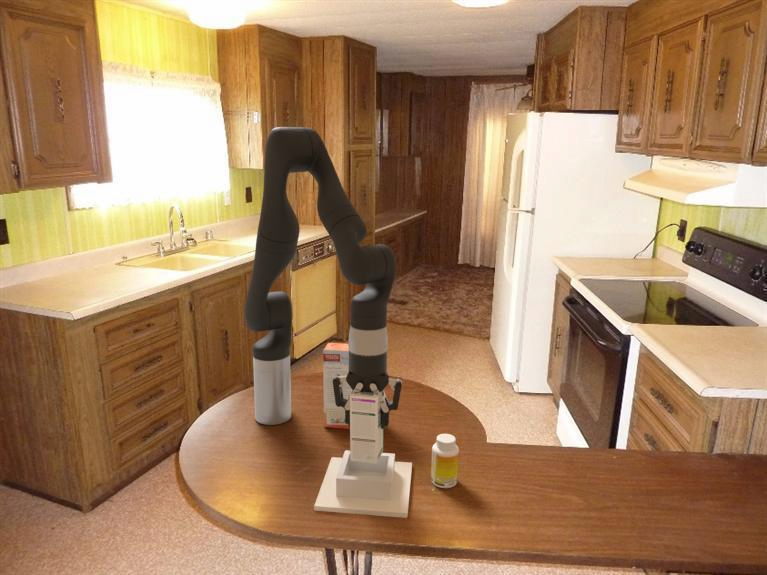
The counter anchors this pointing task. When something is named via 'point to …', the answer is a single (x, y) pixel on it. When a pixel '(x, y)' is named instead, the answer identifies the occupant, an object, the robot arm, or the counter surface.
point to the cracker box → (332, 365)
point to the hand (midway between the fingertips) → (367, 425)
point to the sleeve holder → (366, 487)
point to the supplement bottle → (445, 461)
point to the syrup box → (365, 428)
